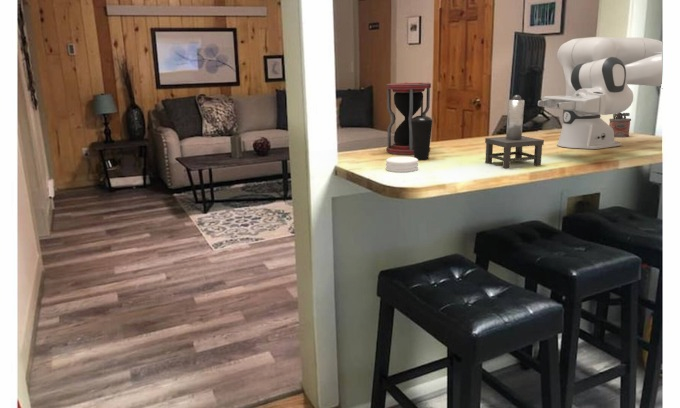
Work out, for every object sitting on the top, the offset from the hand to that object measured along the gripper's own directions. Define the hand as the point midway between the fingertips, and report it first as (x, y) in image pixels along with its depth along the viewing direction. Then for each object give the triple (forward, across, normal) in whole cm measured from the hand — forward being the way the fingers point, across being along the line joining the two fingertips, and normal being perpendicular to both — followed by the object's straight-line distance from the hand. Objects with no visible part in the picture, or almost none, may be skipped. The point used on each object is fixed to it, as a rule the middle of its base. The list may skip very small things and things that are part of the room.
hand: (548, 104), depth 165 cm
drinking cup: (+34, -20, +18) cm, 44 cm away
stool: (+12, 0, +18) cm, 22 cm away
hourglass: (+32, -36, +18) cm, 52 cm away
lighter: (-60, -33, +19) cm, 71 cm away
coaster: (+47, -6, +18) cm, 51 cm away
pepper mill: (+12, 0, +10) cm, 16 cm away
